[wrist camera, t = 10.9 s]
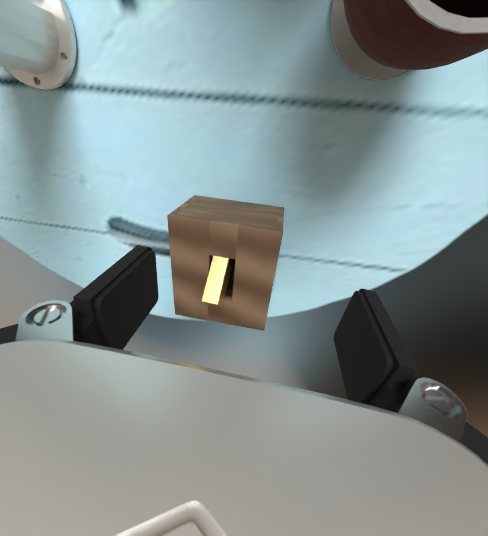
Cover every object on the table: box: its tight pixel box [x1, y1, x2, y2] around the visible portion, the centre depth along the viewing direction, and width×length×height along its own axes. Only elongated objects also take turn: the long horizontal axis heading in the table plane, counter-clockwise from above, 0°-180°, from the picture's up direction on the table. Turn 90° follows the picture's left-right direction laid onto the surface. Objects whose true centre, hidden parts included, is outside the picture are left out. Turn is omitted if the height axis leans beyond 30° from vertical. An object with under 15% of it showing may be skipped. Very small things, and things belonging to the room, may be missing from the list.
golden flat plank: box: [202, 256, 232, 308], centre depth 32 cm, size 5×2×6 cm
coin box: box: [167, 195, 284, 330], centre depth 36 cm, size 16×14×10 cm
